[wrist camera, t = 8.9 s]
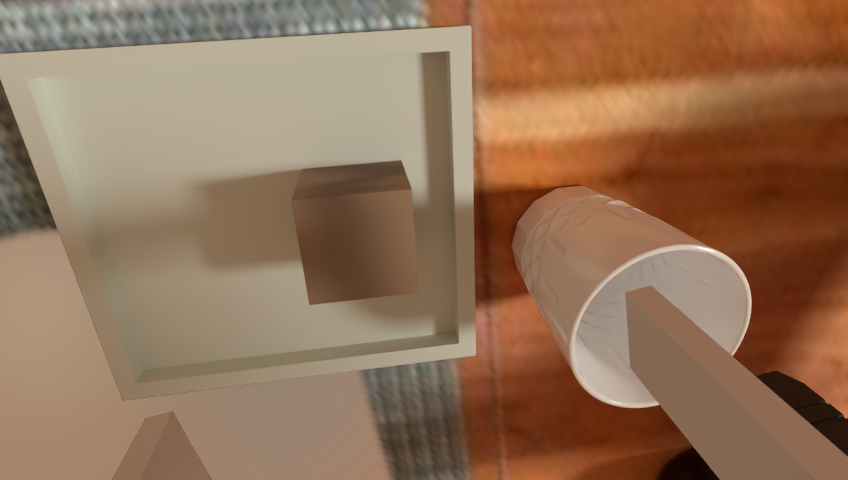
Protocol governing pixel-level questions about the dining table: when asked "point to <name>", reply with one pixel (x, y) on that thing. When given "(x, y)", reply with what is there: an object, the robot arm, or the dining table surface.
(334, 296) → the walnut block
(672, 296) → the white cup
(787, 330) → the dining table surface
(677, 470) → the supplement bottle
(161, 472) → the robot arm
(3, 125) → the dining table surface
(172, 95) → the tray
